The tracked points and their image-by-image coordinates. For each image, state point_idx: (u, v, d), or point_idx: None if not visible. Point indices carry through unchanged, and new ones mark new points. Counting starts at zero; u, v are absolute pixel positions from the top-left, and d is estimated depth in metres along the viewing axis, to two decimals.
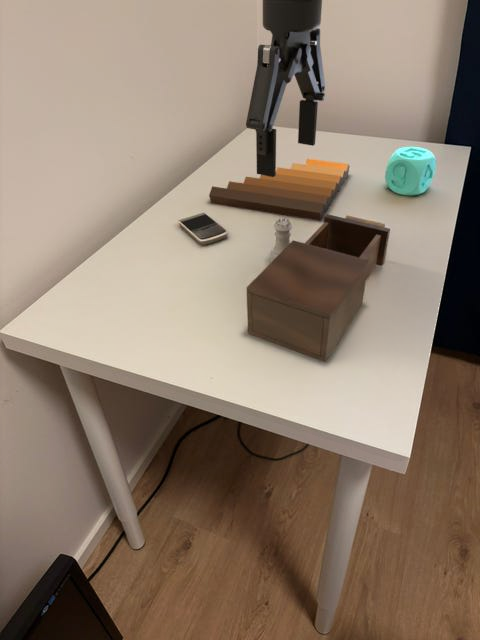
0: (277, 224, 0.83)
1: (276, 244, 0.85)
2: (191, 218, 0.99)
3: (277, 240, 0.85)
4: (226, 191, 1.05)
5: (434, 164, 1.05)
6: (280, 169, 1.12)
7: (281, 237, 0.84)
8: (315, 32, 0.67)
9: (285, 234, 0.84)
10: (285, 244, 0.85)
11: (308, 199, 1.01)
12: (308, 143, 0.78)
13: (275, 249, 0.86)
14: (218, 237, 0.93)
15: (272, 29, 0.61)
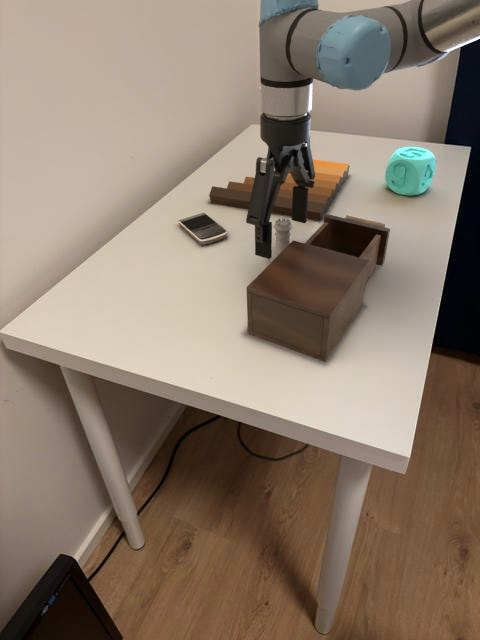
0: (277, 224, 0.83)
1: (276, 244, 0.85)
2: (191, 218, 0.99)
3: (277, 240, 0.85)
4: (226, 191, 1.05)
5: (434, 164, 1.05)
6: None
7: (281, 237, 0.84)
8: None
9: (285, 234, 0.84)
10: (285, 244, 0.85)
11: (308, 199, 1.01)
12: (300, 221, 0.89)
13: (275, 249, 0.86)
14: (218, 237, 0.93)
15: (268, 143, 0.72)
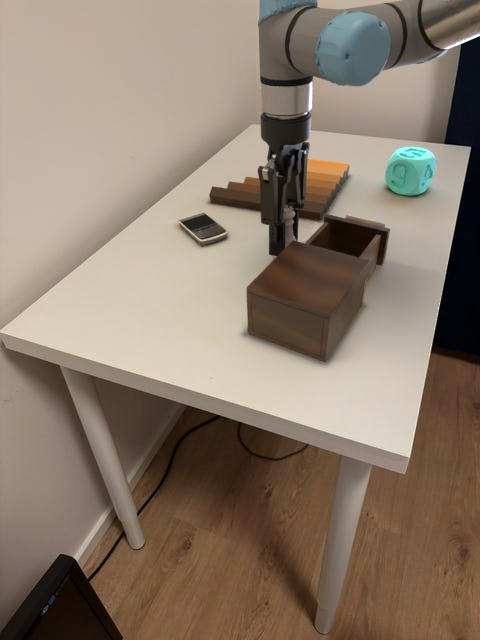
0: None
1: None
2: (191, 218, 0.99)
3: None
4: (226, 191, 1.05)
5: (434, 164, 1.05)
6: None
7: None
8: (306, 144, 0.79)
9: (287, 222, 0.82)
10: (288, 232, 0.83)
11: (308, 199, 1.01)
12: None
13: None
14: (218, 237, 0.93)
15: (269, 142, 0.72)
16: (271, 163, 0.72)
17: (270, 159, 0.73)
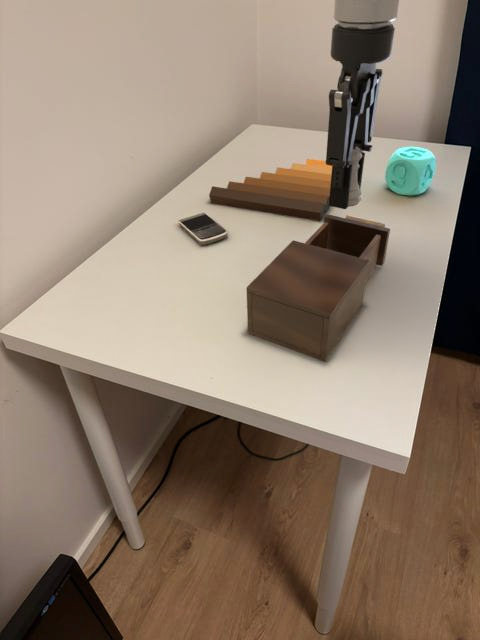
0: None
1: None
2: (191, 218, 0.99)
3: None
4: (226, 191, 1.05)
5: (434, 164, 1.05)
6: (280, 169, 1.12)
7: None
8: (378, 71, 0.67)
9: (353, 165, 0.70)
10: (352, 178, 0.71)
11: (308, 199, 1.01)
12: None
13: None
14: (218, 237, 0.93)
15: (343, 60, 0.60)
16: (345, 86, 0.60)
17: (343, 82, 0.60)
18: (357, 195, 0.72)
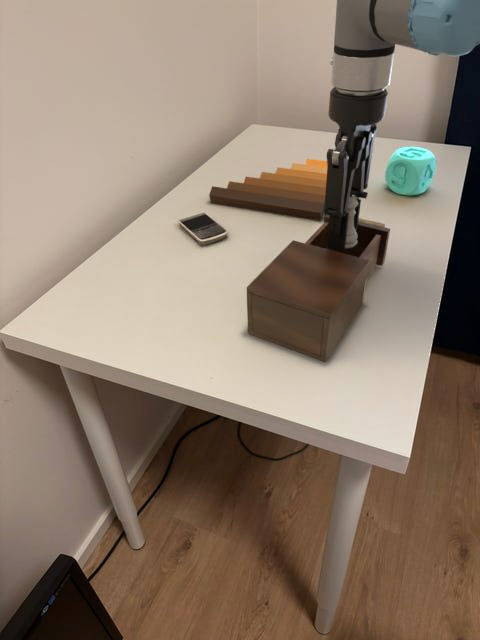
0: None
1: None
2: (191, 218, 0.99)
3: None
4: (226, 191, 1.05)
5: (434, 164, 1.05)
6: (280, 169, 1.12)
7: None
8: (373, 126, 0.71)
9: (350, 212, 0.74)
10: (349, 223, 0.75)
11: (308, 199, 1.01)
12: None
13: None
14: (218, 237, 0.93)
15: (340, 122, 0.64)
16: (342, 146, 0.64)
17: (340, 141, 0.65)
18: (353, 239, 0.76)
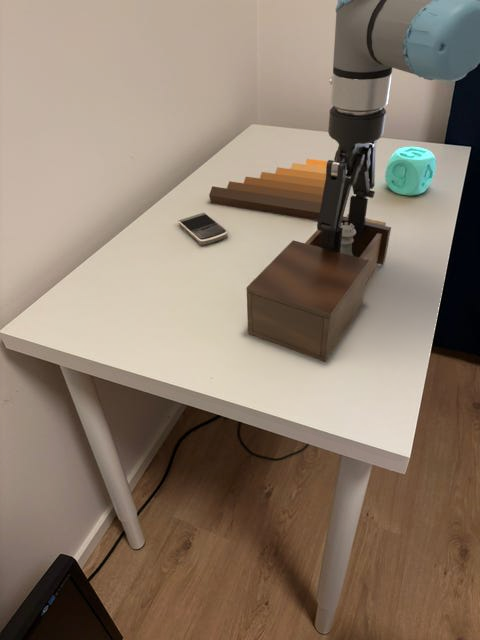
0: None
1: None
2: (191, 218, 0.99)
3: None
4: (226, 191, 1.05)
5: (434, 164, 1.05)
6: (280, 169, 1.12)
7: (344, 243, 0.78)
8: None
9: (348, 240, 0.77)
10: (347, 250, 0.79)
11: (308, 199, 1.01)
12: (357, 233, 0.83)
13: None
14: (218, 237, 0.93)
15: (339, 140, 0.66)
16: (342, 159, 0.66)
17: None
18: None
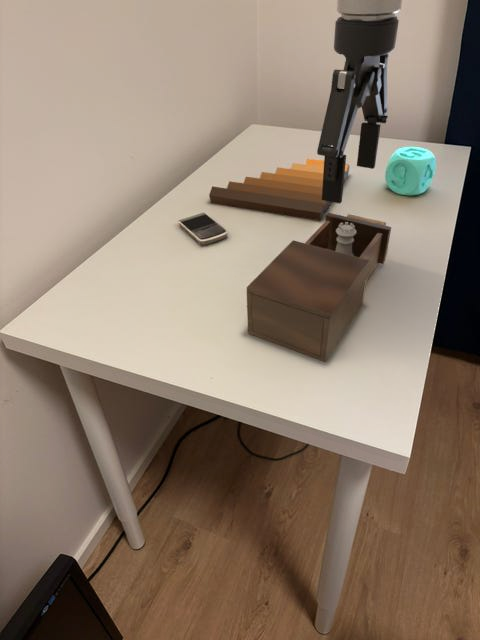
0: (341, 229, 0.77)
1: (338, 250, 0.79)
2: (191, 218, 0.99)
3: (339, 246, 0.79)
4: (226, 191, 1.05)
5: (434, 164, 1.05)
6: (280, 169, 1.12)
7: (344, 243, 0.78)
8: (383, 54, 0.65)
9: (348, 240, 0.78)
10: (347, 250, 0.79)
11: (308, 199, 1.01)
12: (368, 166, 0.76)
13: None
14: (218, 237, 0.93)
15: (346, 53, 0.59)
16: (350, 70, 0.59)
17: None
18: None
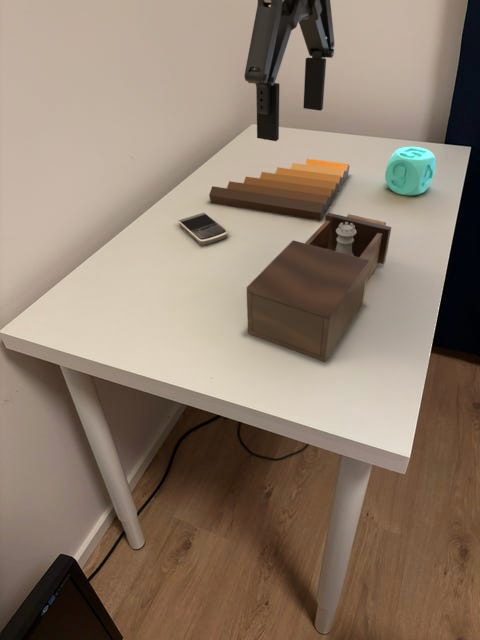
0: (341, 229, 0.77)
1: (338, 250, 0.79)
2: (191, 218, 0.99)
3: (339, 246, 0.79)
4: (226, 191, 1.05)
5: (434, 164, 1.05)
6: (280, 169, 1.12)
7: (344, 243, 0.78)
8: None
9: (348, 240, 0.78)
10: (347, 250, 0.79)
11: (308, 199, 1.01)
12: (315, 108, 0.69)
13: None
14: (218, 237, 0.93)
15: None
16: None
17: None
18: None
